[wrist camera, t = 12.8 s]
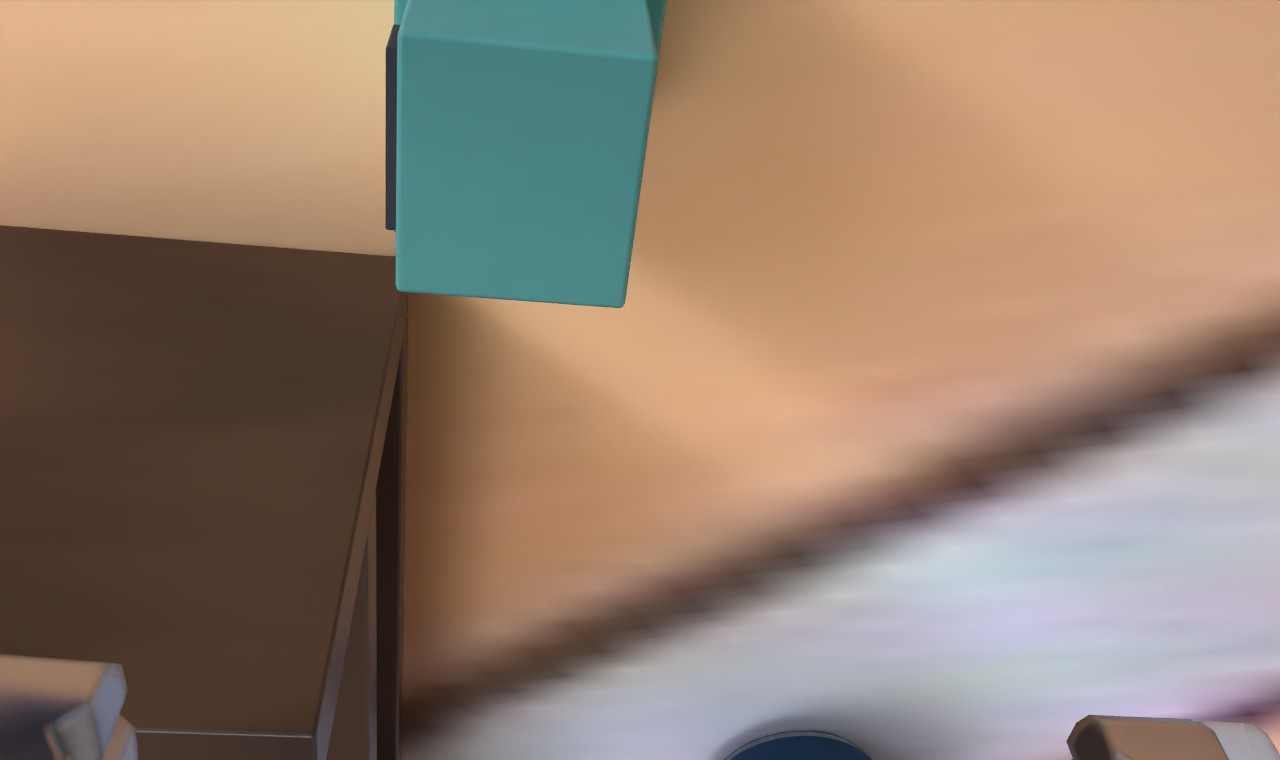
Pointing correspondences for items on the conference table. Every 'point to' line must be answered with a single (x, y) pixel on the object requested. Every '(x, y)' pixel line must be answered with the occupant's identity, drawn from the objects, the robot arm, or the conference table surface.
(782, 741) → the soda can
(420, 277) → the toy robot
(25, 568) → the shelf
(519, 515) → the conference table surface
